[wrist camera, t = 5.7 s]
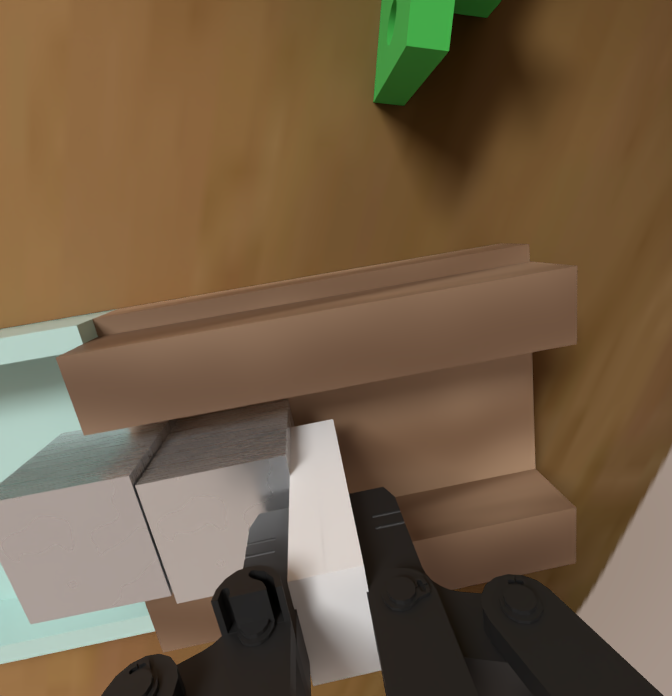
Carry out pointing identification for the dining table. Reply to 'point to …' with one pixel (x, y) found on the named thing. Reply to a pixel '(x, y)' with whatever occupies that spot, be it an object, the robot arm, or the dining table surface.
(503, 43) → the dining table surface
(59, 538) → the chip
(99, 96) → the dining table surface
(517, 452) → the slot board
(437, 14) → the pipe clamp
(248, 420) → the chip
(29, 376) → the tray
